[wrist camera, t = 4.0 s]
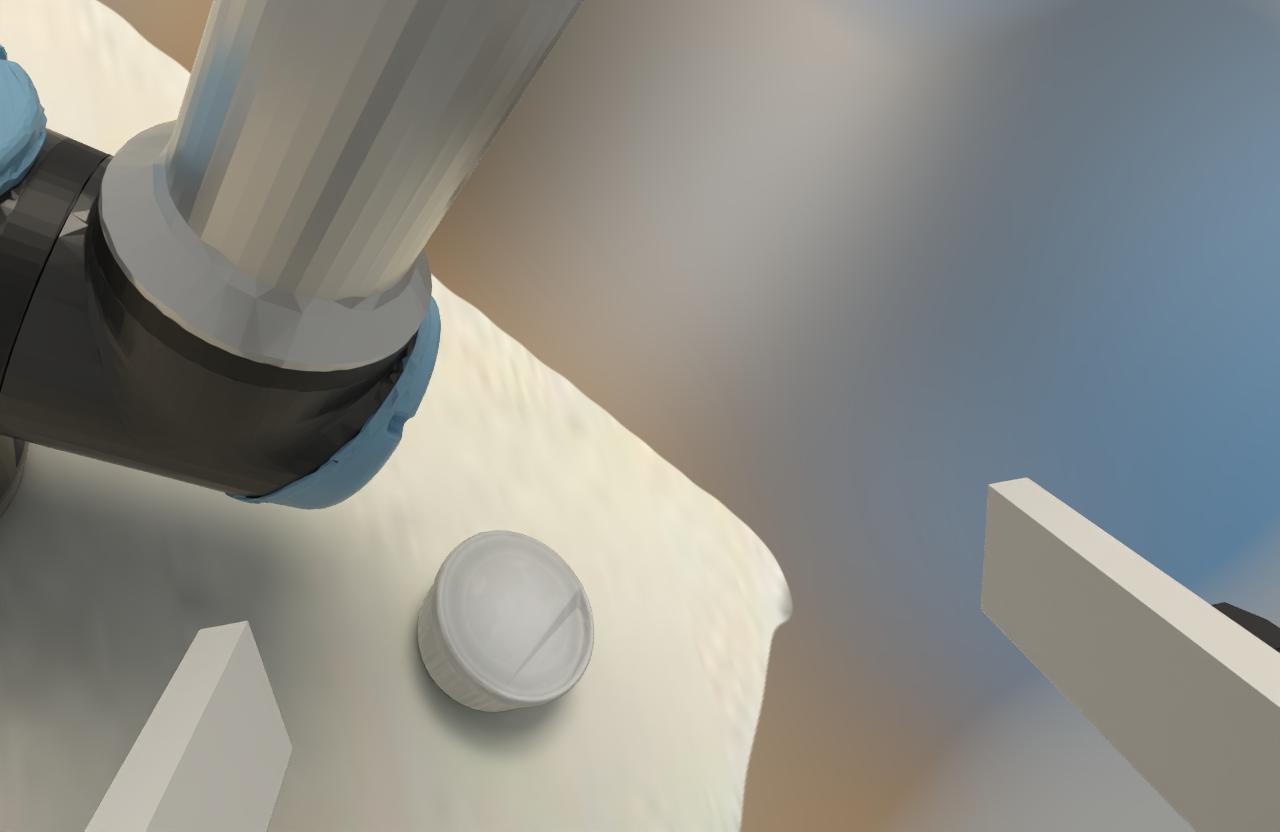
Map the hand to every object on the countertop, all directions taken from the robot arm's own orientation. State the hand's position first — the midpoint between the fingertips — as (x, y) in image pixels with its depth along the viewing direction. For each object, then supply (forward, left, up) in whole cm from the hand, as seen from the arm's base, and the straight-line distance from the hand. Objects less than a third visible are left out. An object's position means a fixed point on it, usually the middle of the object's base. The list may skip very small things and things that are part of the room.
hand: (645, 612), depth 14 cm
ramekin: (+6, +21, -36) cm, 42 cm away
